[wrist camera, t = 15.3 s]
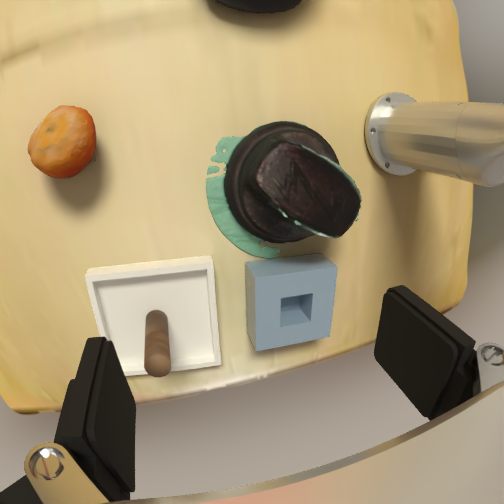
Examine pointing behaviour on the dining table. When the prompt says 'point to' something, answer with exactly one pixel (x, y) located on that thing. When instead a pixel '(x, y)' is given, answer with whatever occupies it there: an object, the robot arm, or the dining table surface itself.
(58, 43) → the dining table surface
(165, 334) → the pin
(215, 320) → the tray
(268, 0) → the casserole
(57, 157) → the fruit
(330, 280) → the holder
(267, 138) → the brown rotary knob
